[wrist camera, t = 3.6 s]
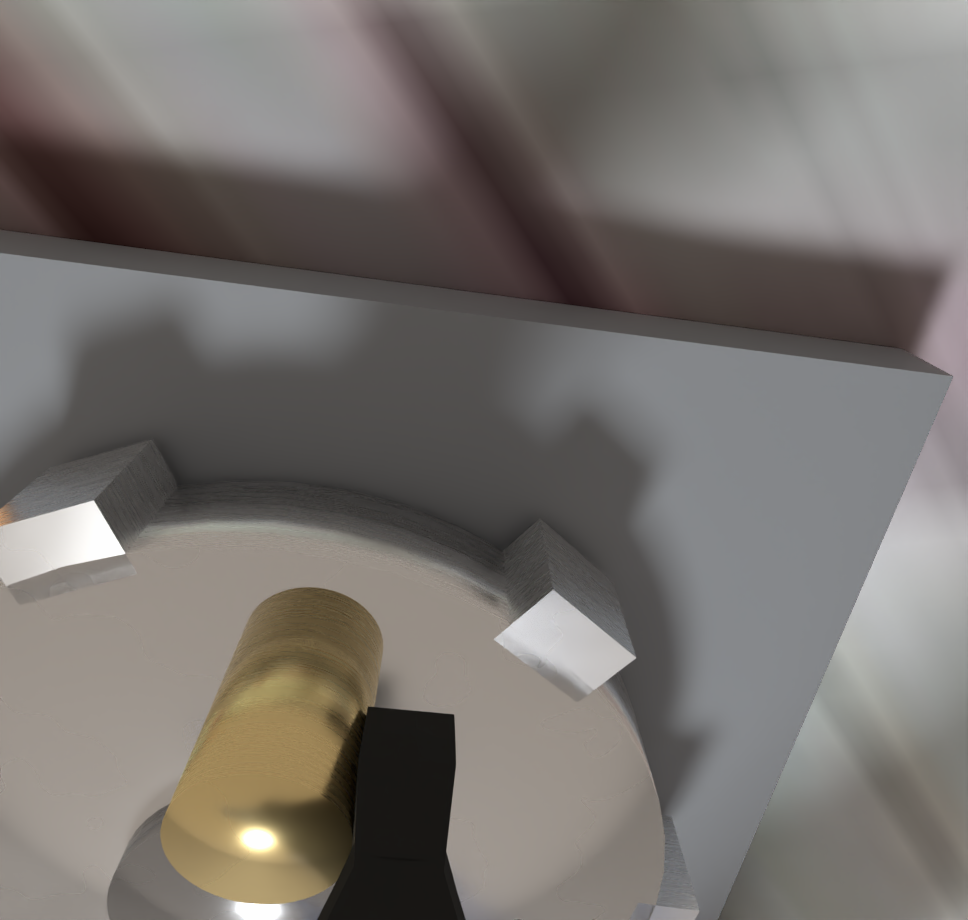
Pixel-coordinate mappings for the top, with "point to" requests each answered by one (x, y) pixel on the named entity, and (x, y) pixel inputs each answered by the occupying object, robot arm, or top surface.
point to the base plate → (514, 461)
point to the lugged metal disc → (303, 702)
